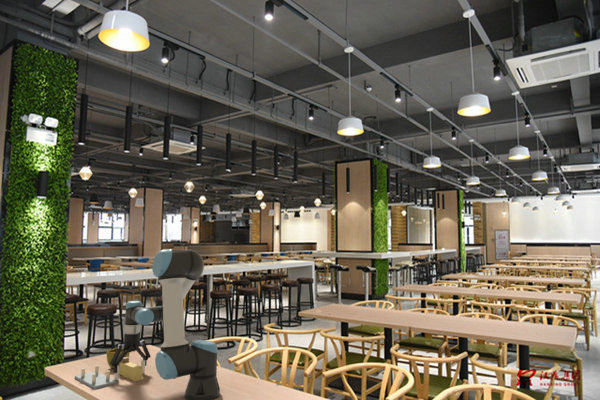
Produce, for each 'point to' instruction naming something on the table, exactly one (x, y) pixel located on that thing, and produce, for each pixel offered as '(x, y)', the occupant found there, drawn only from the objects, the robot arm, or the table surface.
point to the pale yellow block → (130, 370)
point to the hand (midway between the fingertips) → (129, 376)
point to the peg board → (98, 380)
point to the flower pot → (111, 354)
